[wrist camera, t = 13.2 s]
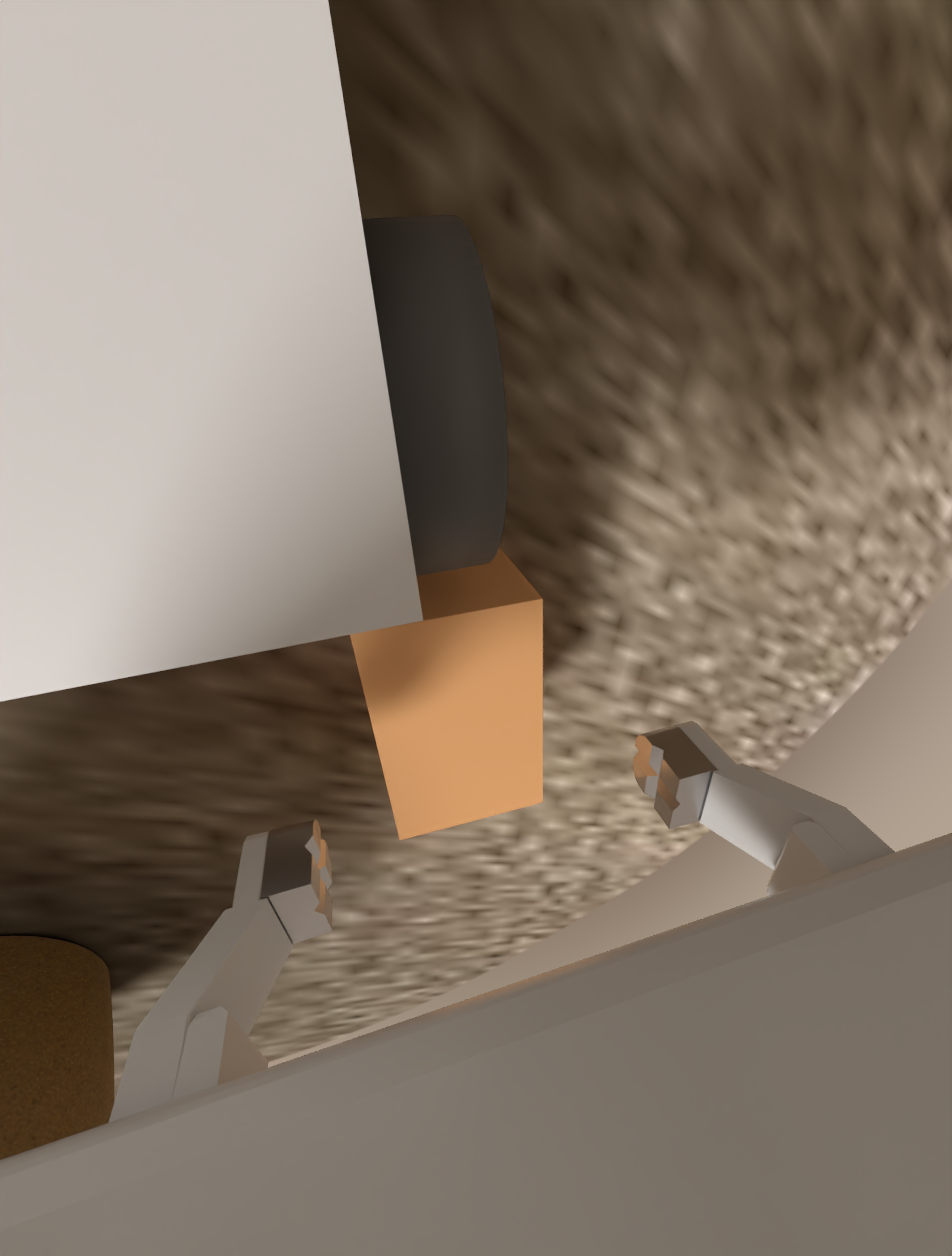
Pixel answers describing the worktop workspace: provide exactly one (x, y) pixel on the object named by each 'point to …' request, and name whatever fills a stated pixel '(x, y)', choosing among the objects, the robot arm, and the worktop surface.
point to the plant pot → (53, 1042)
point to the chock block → (459, 698)
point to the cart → (219, 351)
